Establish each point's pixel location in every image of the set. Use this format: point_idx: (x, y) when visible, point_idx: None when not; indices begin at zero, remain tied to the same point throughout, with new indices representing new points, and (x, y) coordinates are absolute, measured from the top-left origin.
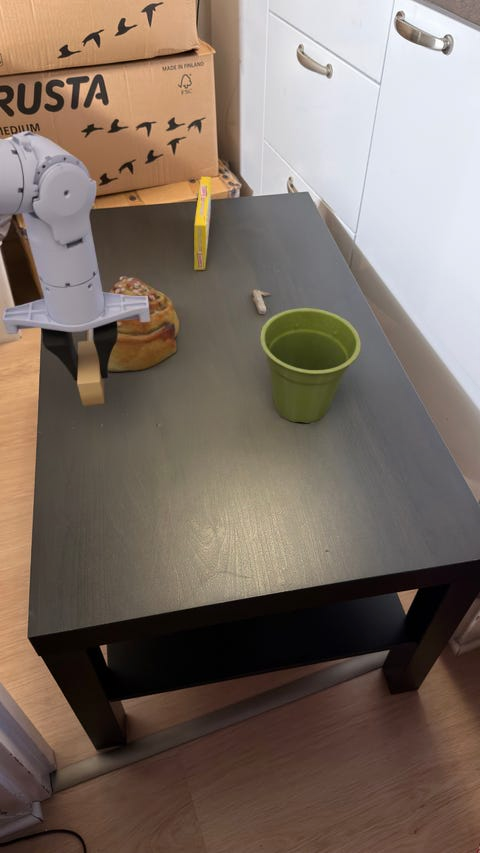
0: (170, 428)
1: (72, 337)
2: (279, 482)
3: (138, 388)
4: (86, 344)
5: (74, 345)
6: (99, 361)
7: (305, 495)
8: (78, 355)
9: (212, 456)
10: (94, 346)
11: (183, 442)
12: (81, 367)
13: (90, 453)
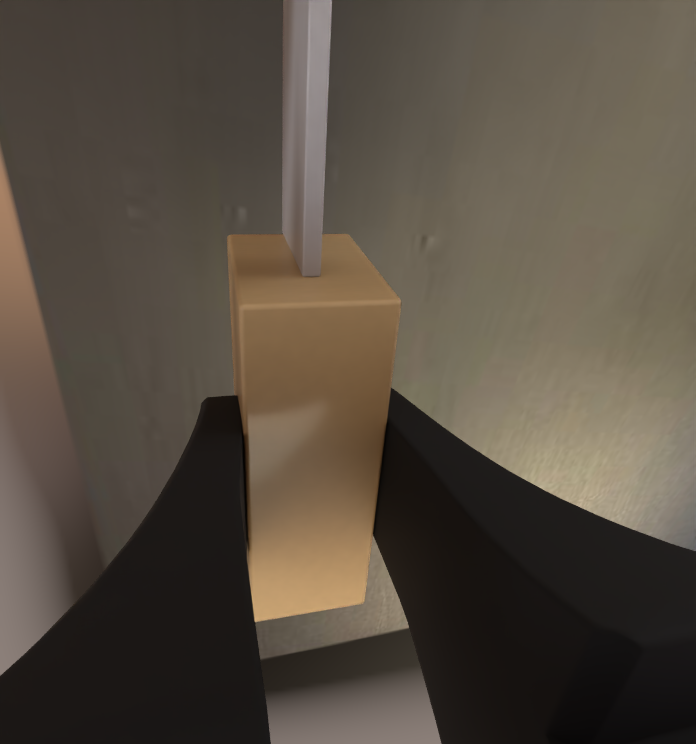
0: (459, 260)
1: (242, 530)
2: (628, 439)
3: (394, 21)
4: (306, 347)
5: (239, 479)
6: (401, 599)
7: (653, 466)
8: (249, 443)
9: (531, 367)
10: (362, 370)
11: (479, 317)
12: (271, 531)
13: (207, 331)
